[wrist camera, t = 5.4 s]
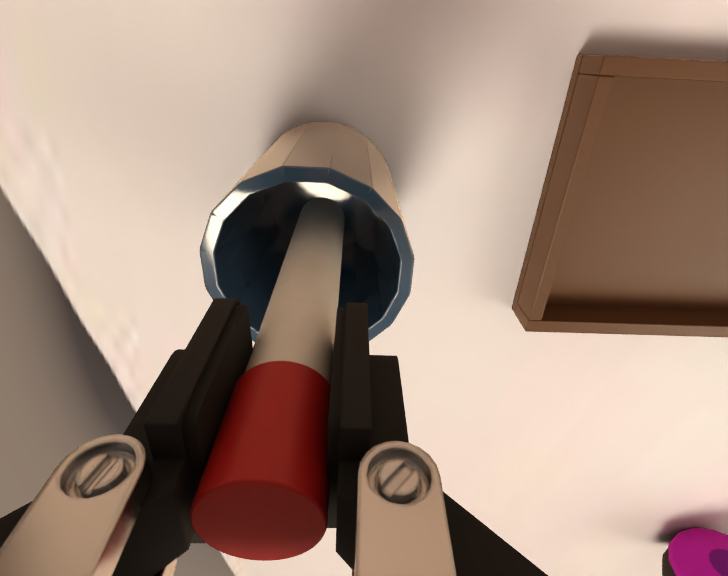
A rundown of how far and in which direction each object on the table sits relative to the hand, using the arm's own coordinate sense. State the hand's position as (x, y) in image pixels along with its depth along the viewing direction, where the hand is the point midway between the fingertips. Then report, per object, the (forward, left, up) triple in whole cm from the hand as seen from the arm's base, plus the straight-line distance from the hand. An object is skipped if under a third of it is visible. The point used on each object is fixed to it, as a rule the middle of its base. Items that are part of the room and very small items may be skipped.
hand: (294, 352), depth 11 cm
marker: (0, 0, -10) cm, 10 cm away
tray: (0, +23, -15) cm, 27 cm away
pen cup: (0, 0, -15) cm, 15 cm away
